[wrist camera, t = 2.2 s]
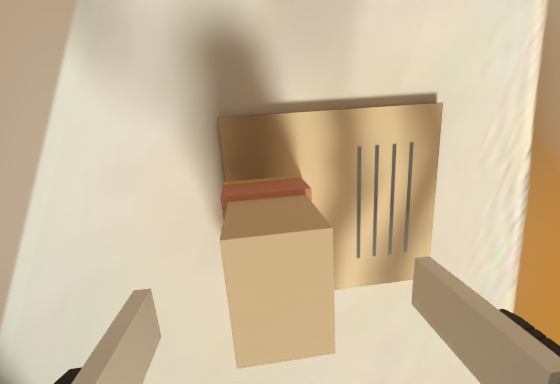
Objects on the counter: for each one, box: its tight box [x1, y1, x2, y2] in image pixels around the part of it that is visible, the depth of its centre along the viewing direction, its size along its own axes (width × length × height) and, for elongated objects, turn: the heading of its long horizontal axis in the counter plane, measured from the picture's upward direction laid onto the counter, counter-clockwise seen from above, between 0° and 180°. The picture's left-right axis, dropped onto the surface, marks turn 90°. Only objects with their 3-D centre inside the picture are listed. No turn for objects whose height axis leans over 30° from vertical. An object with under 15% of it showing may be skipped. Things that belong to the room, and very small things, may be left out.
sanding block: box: [220, 175, 335, 369], centre depth 18 cm, size 6×8×10 cm
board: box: [217, 103, 443, 290], centre depth 24 cm, size 18×16×1 cm
